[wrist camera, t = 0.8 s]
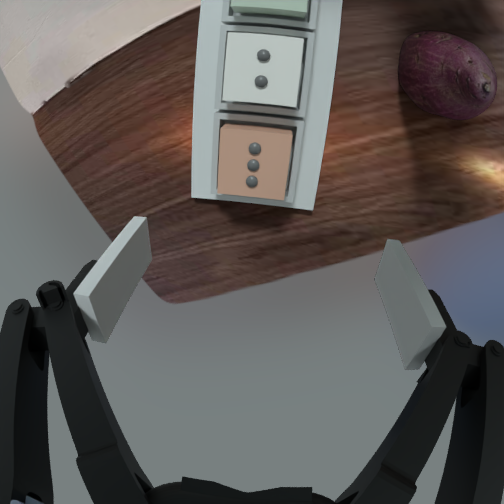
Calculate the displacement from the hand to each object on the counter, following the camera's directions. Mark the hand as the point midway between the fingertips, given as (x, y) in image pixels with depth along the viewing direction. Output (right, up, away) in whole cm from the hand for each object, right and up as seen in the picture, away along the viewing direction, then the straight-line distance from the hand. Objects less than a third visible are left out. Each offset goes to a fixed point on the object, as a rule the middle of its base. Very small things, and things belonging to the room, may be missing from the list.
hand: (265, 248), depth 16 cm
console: (+1, +18, +11) cm, 21 cm away
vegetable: (+20, +20, +9) cm, 29 cm away
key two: (0, +17, +9) cm, 19 cm away
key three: (0, +9, +14) cm, 16 cm away
